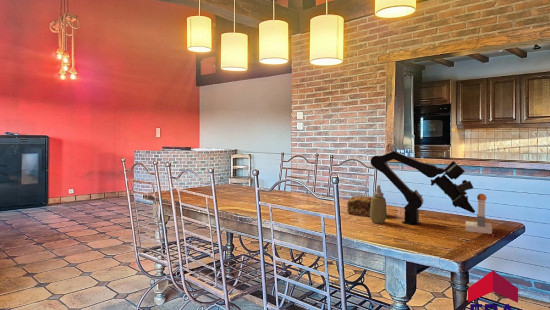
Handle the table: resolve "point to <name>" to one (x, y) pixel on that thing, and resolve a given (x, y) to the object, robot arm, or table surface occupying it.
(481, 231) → the block
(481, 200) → the lever
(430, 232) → the table surface
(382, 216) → the squeeze bottle
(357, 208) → the bread
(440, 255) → the table surface
